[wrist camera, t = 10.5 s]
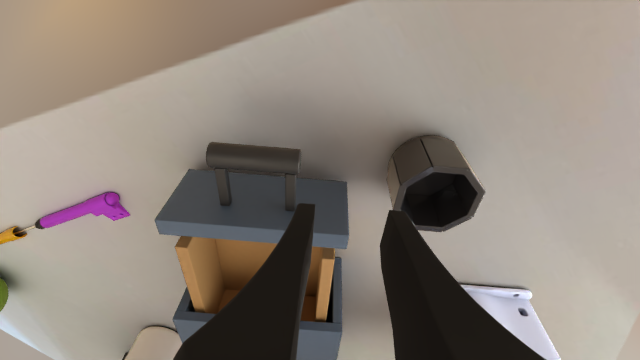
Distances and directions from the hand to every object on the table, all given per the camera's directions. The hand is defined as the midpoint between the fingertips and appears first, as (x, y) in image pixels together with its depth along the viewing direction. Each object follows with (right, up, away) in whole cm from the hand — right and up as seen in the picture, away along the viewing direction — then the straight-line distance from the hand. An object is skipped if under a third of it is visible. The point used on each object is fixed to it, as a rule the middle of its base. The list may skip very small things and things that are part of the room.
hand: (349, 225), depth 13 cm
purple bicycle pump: (-24, -2, +15) cm, 29 cm away
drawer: (-5, -2, +12) cm, 13 cm away
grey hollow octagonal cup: (+6, +3, +9) cm, 11 cm away
